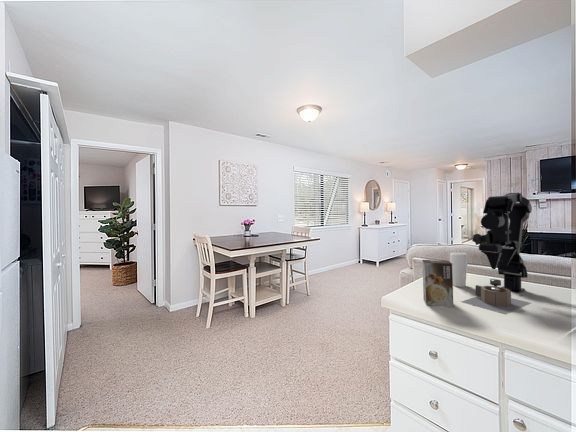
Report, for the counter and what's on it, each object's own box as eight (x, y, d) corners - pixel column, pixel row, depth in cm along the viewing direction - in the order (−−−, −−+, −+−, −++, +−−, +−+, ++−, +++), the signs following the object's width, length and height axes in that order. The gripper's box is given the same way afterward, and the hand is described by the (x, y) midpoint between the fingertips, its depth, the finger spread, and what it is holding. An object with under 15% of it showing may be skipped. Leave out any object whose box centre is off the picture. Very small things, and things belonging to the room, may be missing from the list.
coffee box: (449, 301, 100) (449, 260, 99) (453, 307, 94) (453, 263, 93) (422, 299, 103) (422, 259, 102) (425, 305, 97) (424, 262, 96)
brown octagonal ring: (481, 295, 105) (481, 283, 105) (514, 303, 95) (514, 290, 95) (470, 299, 101) (470, 286, 101) (503, 307, 91) (503, 293, 91)
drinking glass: (470, 288, 115) (470, 254, 115) (453, 287, 116) (453, 254, 116) (463, 284, 122) (463, 252, 121) (447, 283, 123) (447, 252, 123)
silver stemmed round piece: (491, 298, 100) (490, 277, 100) (507, 302, 96) (507, 280, 96) (484, 300, 98) (483, 279, 98) (500, 305, 93) (500, 282, 93)
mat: (487, 293, 108) (487, 292, 108) (531, 303, 96) (531, 302, 96) (460, 302, 98) (460, 301, 98) (505, 315, 86) (505, 314, 86)
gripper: (487, 225, 113) (488, 261, 114) (464, 228, 105) (464, 266, 105) (520, 227, 104) (520, 265, 104) (496, 229, 95) (496, 272, 95)
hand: (499, 267), depth 102 cm, fingers open, 9 cm apart
